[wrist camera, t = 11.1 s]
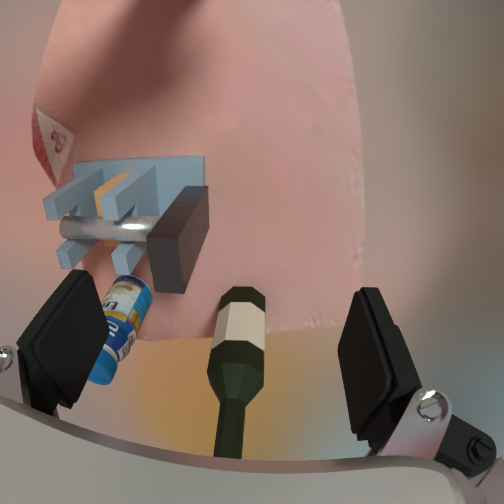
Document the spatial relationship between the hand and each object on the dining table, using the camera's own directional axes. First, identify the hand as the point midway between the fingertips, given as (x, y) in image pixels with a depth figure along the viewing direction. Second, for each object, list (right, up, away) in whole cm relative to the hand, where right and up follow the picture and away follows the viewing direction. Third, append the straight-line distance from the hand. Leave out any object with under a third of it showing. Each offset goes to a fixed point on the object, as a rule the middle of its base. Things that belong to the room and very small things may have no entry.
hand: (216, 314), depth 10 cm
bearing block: (-17, +11, +33) cm, 39 cm away
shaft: (-14, +9, +29) cm, 33 cm away
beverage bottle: (-21, -5, +43) cm, 48 cm away
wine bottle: (0, -7, +43) cm, 44 cm away
